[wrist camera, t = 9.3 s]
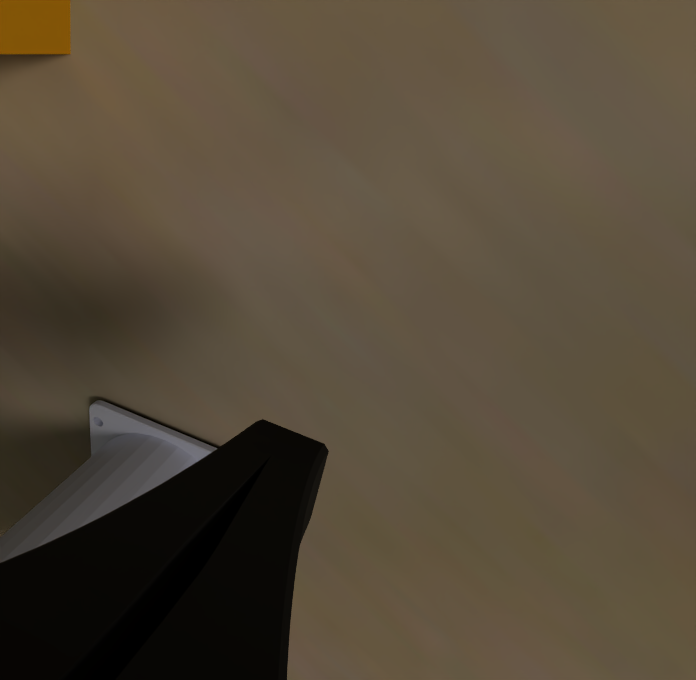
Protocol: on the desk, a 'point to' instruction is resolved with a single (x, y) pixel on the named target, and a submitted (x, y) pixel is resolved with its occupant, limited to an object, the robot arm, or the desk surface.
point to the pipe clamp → (34, 26)
